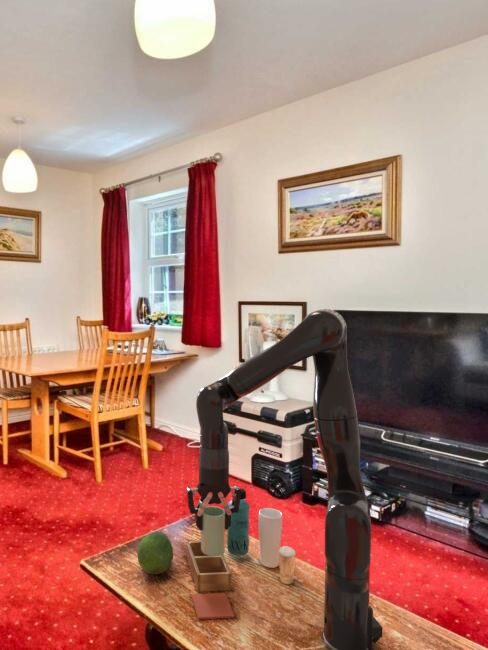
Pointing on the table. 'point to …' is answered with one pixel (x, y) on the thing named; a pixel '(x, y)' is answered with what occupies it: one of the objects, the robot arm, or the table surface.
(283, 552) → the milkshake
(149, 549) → the fruit
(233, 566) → the table surface
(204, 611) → the coaster mat
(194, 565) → the brown wooden shelf
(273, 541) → the drinking glass
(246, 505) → the beverage bottle
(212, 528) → the cup
